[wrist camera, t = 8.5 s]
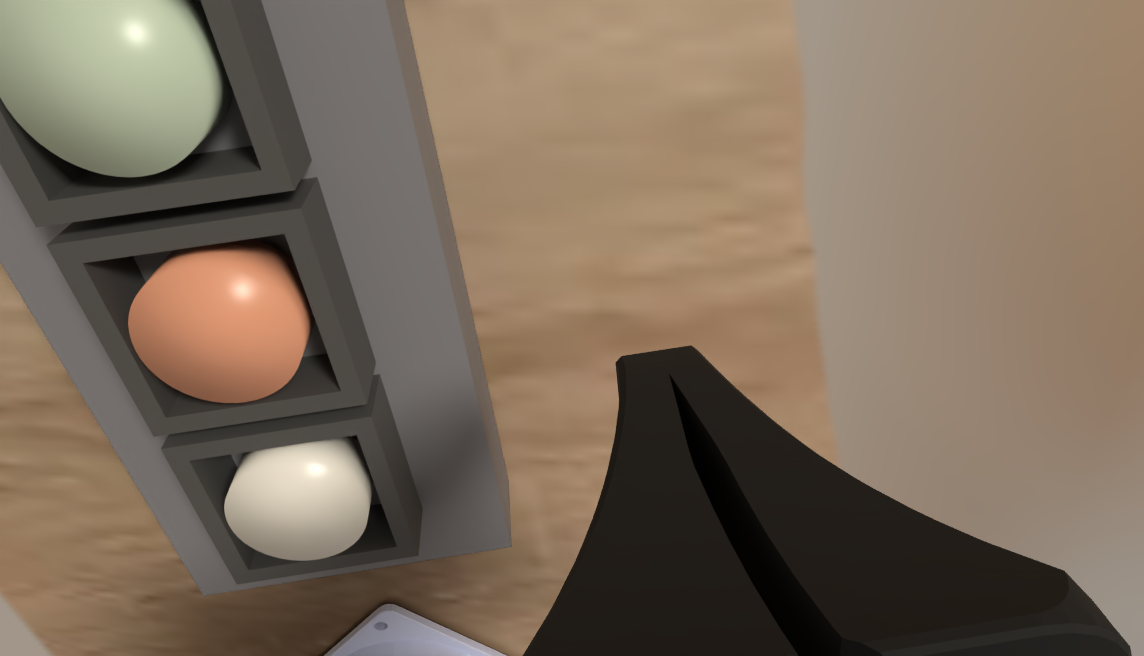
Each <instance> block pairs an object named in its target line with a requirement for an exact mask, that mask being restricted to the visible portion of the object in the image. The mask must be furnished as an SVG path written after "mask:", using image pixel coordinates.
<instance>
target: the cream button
mask: <svg viewBox="0 0 1144 656" xmlns="http://www.w3.org/2000/svg"><path fill="white" fill-rule="evenodd" d="M373 486H374V482H373V479H372V476H371V473H370V470H369V468H368V465H367V462H366V459H365V456H364V454H363V451H362V448H361V445H360V443H359V442H358V441H357V440H356V439H355V438H353V437H352V436H347V437H341V438H334V439H328V440H321V441H315V442H308V443H302V444H295V445H289V446H282V447H276V448H269V449H263V450H256V451H250V452H244V454H243V456H242V459H241V461H240V464H239V466H238V469H237V471H236V474H235V476H234V479H233V481H232V484H231V486H230V488H229V491H228V493H227V496H226V499H225V504H224V512H225V517H226V520H227V522H228V525H229V526H230V528H231V529H232V531H233V532H234V533H235V535H236V536H237V537H238V538H239V539H241V540H242V541H243V542H244V543H245V544H247V545H248V546H250V547H252V548H253V549H255V550H257V551H259V552H261V553H264V554H266V555H269V556H273V557H276V558H281V559H287V560H297V561H308V560H318V559H323V558H327V557H330V556H333V555H336V554H338V553H341V552H343V551H344V550H346V549H348V548H349V547H351V546H352V545H353V544H354V543H355V542H356V541H357V540H358V539H359V538H360V537H361V535H362V534H363V532H364V530H365V528H366V525H367V520H368V515H369V509H370V503H371V497H372V492H373Z"/></svg>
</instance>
